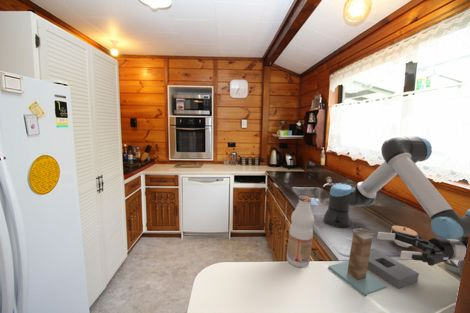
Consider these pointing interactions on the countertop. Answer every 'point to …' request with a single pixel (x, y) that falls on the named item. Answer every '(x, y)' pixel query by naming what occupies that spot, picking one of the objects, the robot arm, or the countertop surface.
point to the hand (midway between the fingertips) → (388, 244)
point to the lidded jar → (403, 230)
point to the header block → (391, 270)
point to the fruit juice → (301, 234)
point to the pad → (361, 285)
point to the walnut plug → (359, 253)
